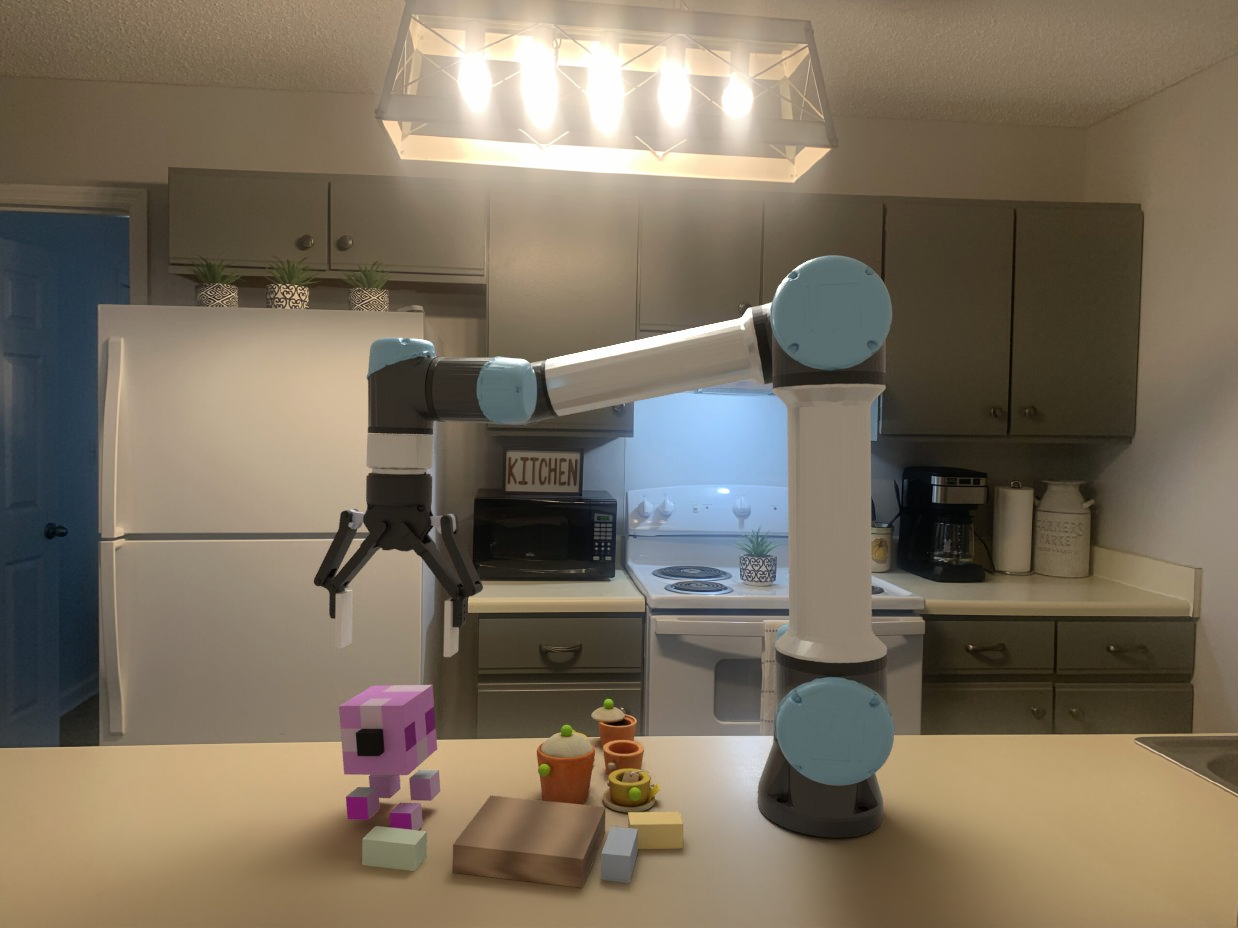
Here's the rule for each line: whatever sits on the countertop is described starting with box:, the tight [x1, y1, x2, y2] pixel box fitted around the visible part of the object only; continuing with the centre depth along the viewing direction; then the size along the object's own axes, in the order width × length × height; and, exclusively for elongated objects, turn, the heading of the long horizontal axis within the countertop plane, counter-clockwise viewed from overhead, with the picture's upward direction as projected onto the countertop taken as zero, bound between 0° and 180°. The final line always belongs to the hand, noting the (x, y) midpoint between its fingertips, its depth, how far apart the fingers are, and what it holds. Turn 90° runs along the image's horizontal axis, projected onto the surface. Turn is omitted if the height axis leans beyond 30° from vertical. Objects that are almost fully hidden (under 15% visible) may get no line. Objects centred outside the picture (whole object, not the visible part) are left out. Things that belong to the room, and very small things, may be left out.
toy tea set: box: [536, 698, 660, 813], centre depth 112 cm, size 26×16×10 cm, turn 4°
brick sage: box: [361, 825, 428, 872], centre depth 88 cm, size 6×3×3 cm, turn 80°
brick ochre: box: [627, 811, 684, 850], centre depth 94 cm, size 6×3×3 cm, turn 94°
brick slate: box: [600, 826, 639, 884], centre depth 88 cm, size 6×3×3 cm, turn 171°
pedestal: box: [452, 794, 606, 889], centre depth 91 cm, size 14×12×3 cm
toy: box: [338, 684, 441, 831], centre depth 98 cm, size 11×8×15 cm
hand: (396, 650), depth 97 cm, fingers open, 13 cm apart
